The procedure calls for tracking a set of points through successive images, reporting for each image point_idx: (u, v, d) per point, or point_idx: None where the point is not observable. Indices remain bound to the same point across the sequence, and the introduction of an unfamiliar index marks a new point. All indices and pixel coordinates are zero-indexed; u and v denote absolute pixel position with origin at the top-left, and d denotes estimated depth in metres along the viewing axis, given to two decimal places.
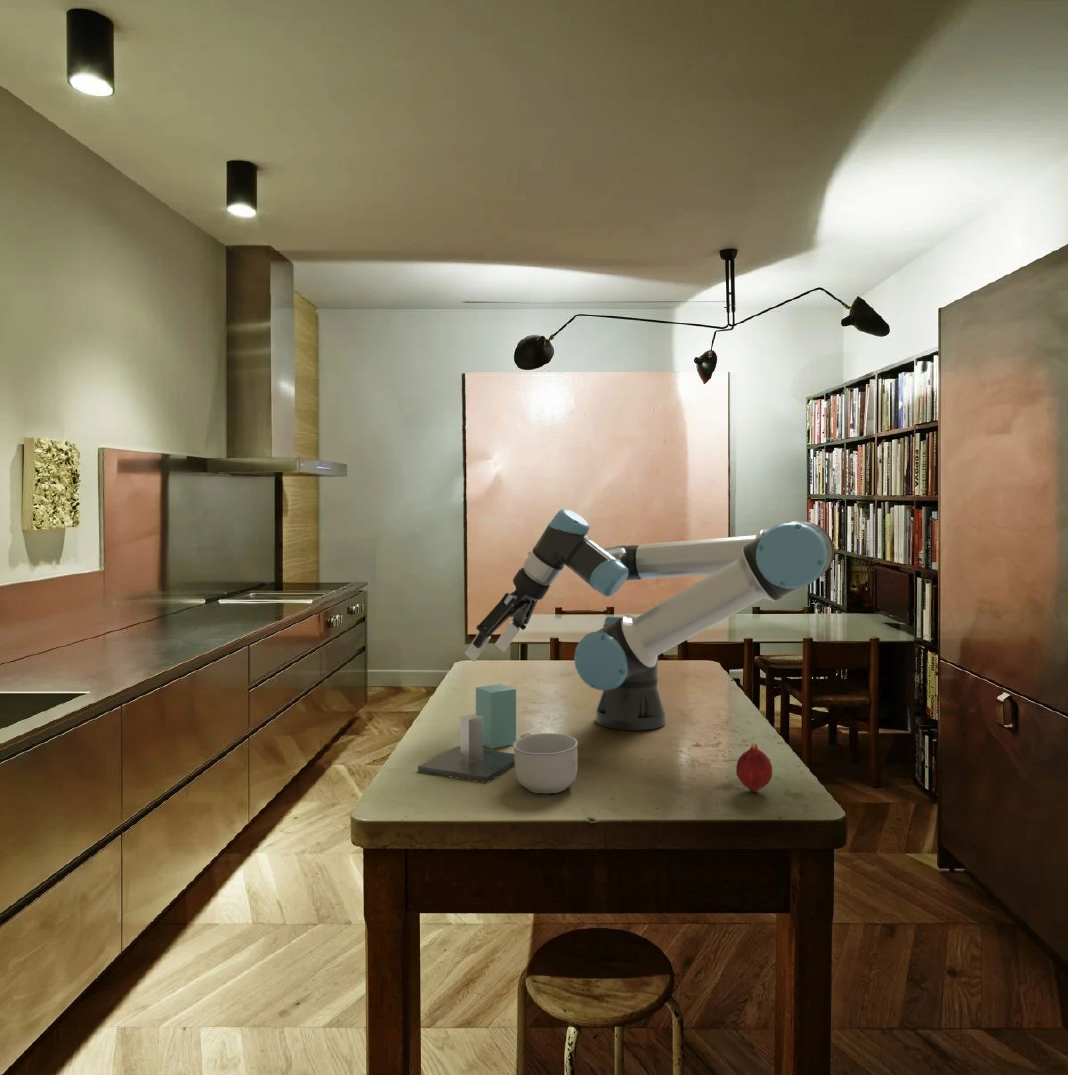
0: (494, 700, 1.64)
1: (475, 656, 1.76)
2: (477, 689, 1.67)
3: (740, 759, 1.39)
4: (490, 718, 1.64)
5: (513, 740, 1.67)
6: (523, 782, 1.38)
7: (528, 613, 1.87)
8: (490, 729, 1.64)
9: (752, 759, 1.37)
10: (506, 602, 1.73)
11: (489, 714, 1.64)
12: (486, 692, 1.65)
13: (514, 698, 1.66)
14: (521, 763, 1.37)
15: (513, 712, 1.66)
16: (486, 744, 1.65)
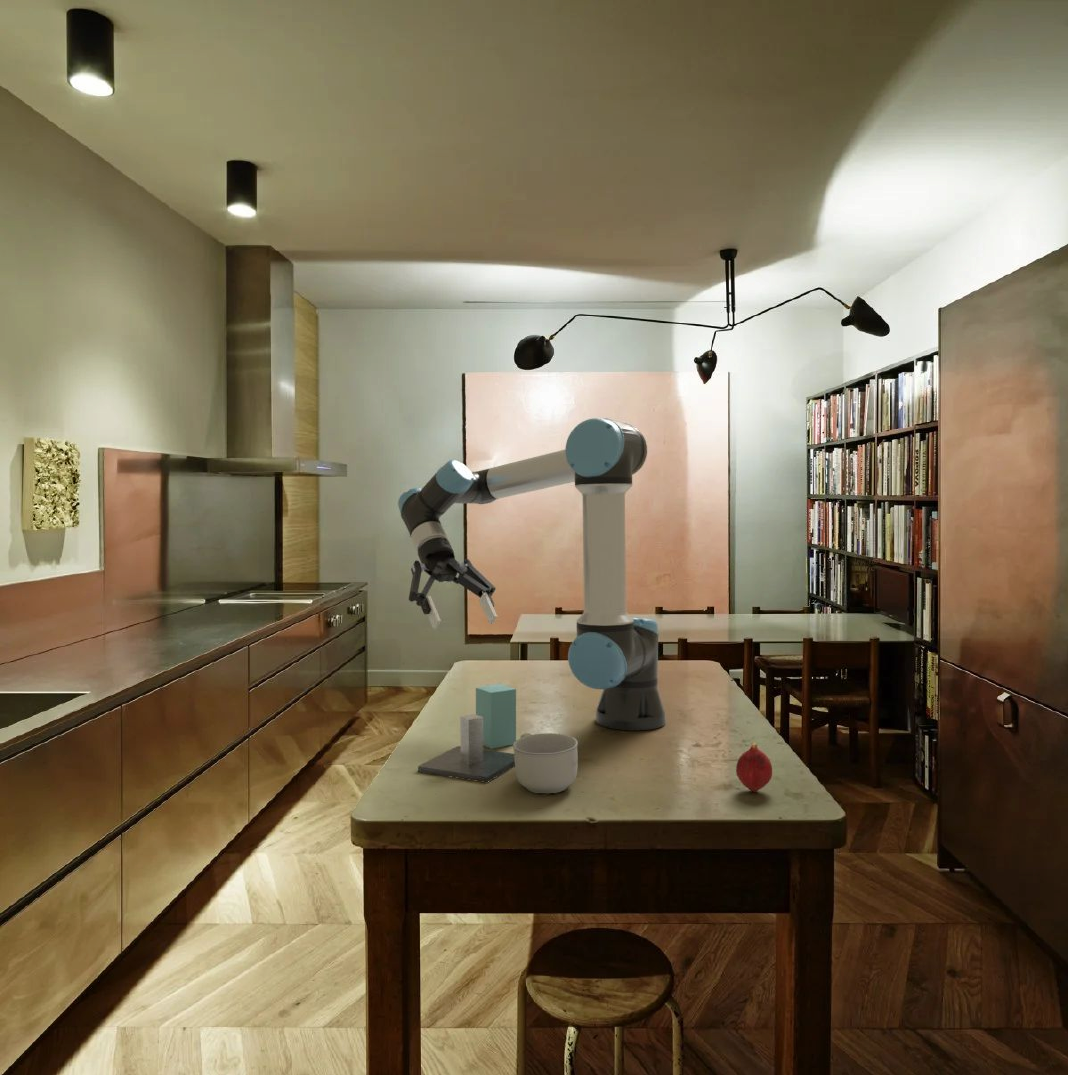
0: (494, 700, 1.64)
1: (435, 617, 1.72)
2: (477, 689, 1.67)
3: (740, 759, 1.39)
4: (490, 718, 1.64)
5: (513, 740, 1.67)
6: (523, 782, 1.38)
7: (480, 579, 1.85)
8: (490, 729, 1.64)
9: (752, 759, 1.37)
10: (414, 569, 1.80)
11: (489, 714, 1.64)
12: (486, 692, 1.65)
13: (514, 698, 1.66)
14: (521, 763, 1.37)
15: (513, 712, 1.66)
16: (486, 744, 1.65)
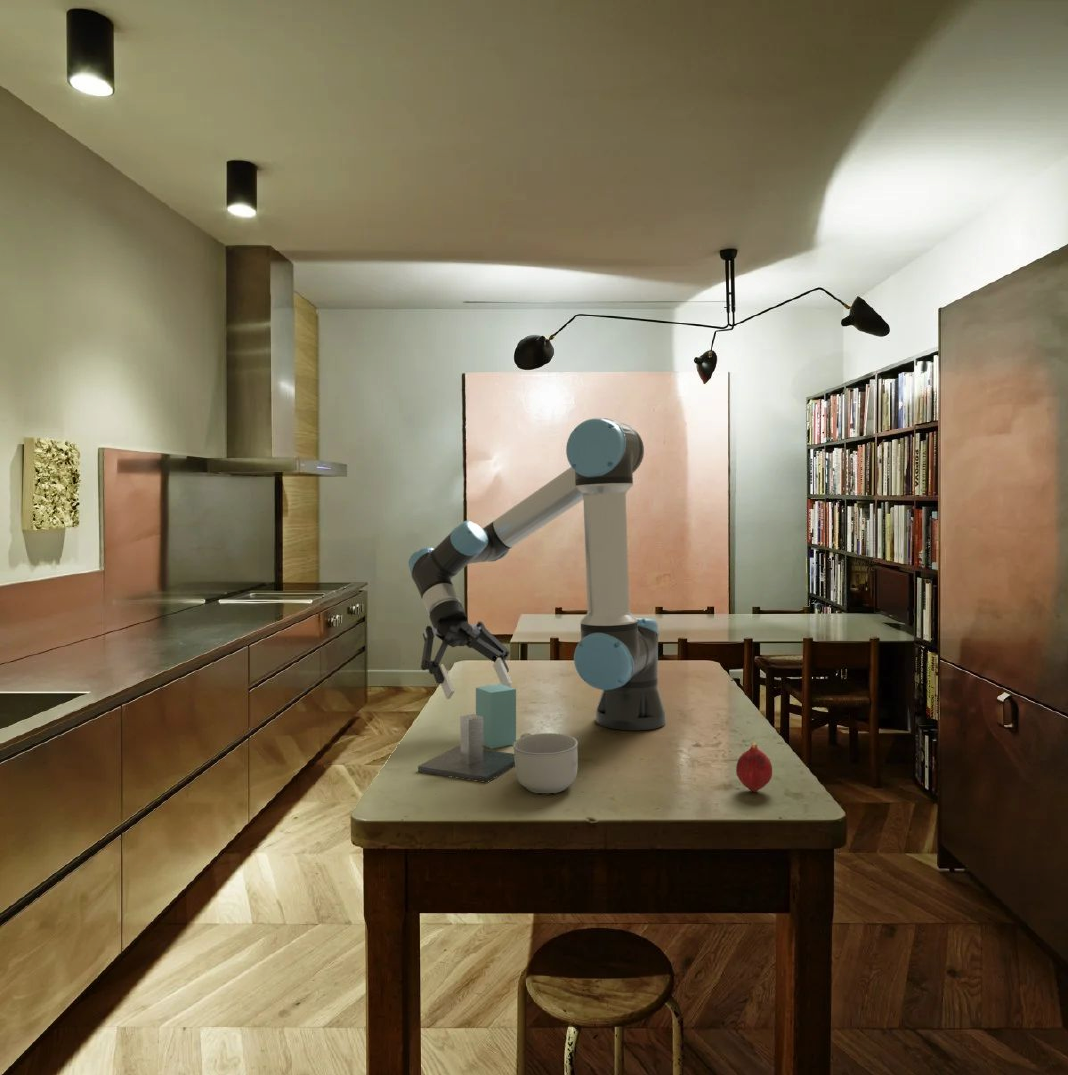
0: (494, 700, 1.64)
1: (448, 687, 1.67)
2: (477, 689, 1.67)
3: (740, 759, 1.39)
4: (490, 718, 1.64)
5: (513, 740, 1.67)
6: (523, 782, 1.38)
7: (494, 643, 1.80)
8: (490, 729, 1.64)
9: (752, 759, 1.37)
10: (425, 635, 1.75)
11: (489, 714, 1.64)
12: (486, 692, 1.65)
13: (514, 698, 1.66)
14: (521, 763, 1.37)
15: (513, 712, 1.66)
16: (486, 744, 1.65)
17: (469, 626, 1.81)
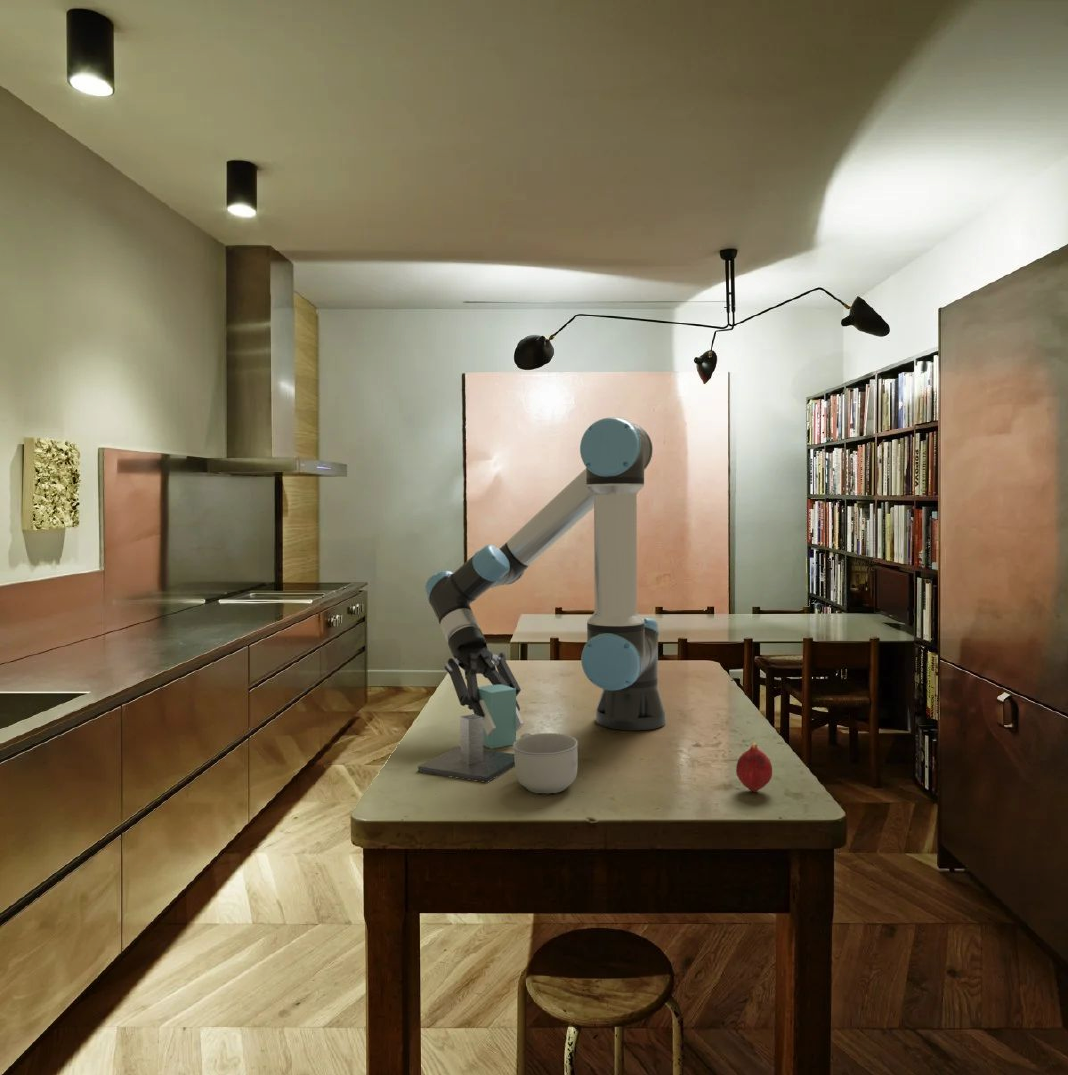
0: (494, 700, 1.64)
1: (489, 723, 1.62)
2: None
3: (740, 759, 1.39)
4: None
5: (513, 740, 1.67)
6: (523, 782, 1.38)
7: (508, 677, 1.73)
8: None
9: (752, 759, 1.37)
10: (450, 668, 1.69)
11: None
12: (486, 692, 1.65)
13: (514, 698, 1.66)
14: (521, 763, 1.37)
15: (513, 712, 1.66)
16: (486, 744, 1.65)
17: (489, 653, 1.75)
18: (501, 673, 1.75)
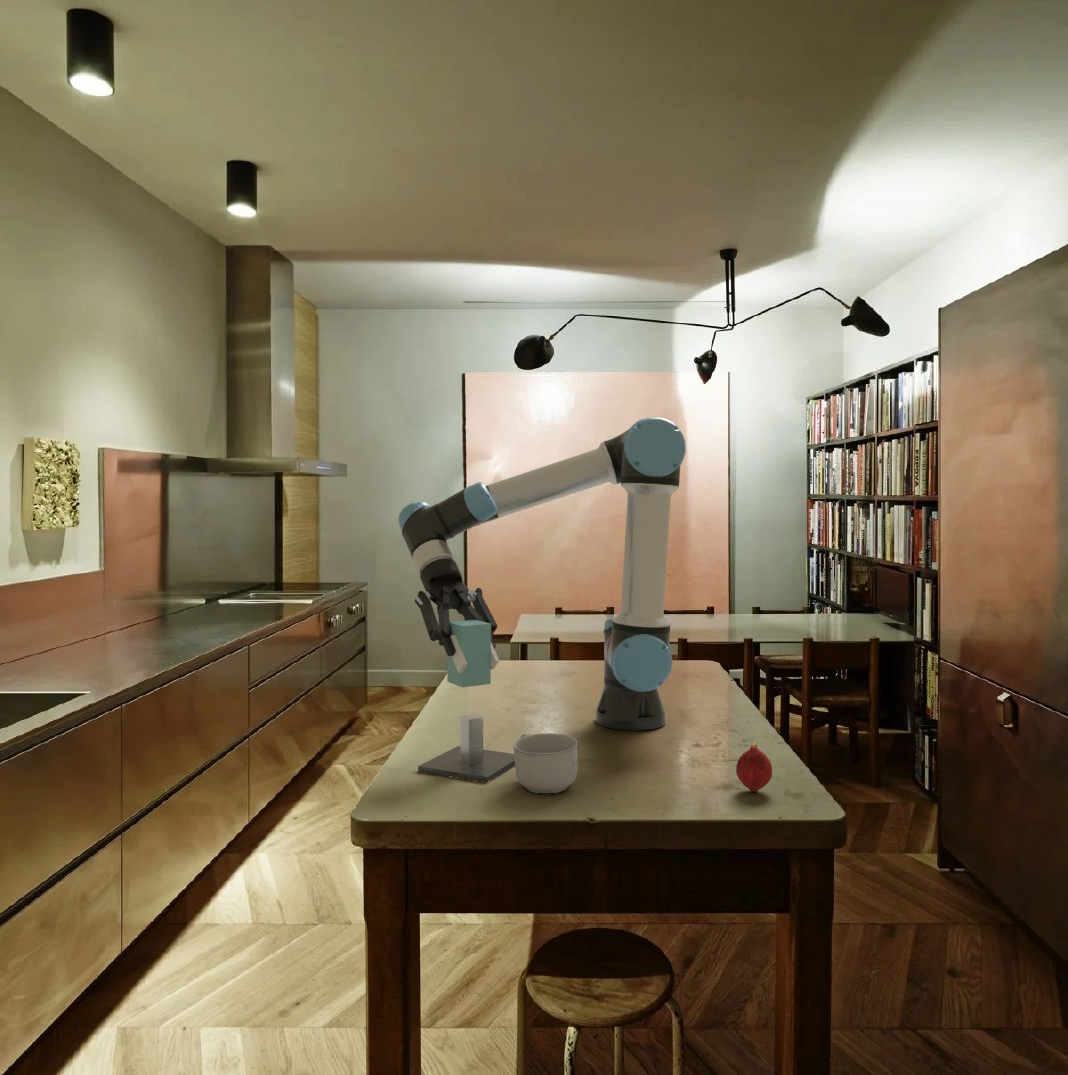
0: (466, 634, 1.50)
1: (460, 659, 1.48)
2: None
3: (740, 759, 1.39)
4: None
5: (487, 679, 1.52)
6: (523, 782, 1.38)
7: (484, 613, 1.59)
8: None
9: (752, 759, 1.37)
10: (420, 601, 1.55)
11: None
12: (458, 626, 1.51)
13: (488, 633, 1.52)
14: (521, 763, 1.37)
15: (487, 649, 1.52)
16: (457, 683, 1.51)
17: (464, 588, 1.61)
18: (477, 609, 1.61)
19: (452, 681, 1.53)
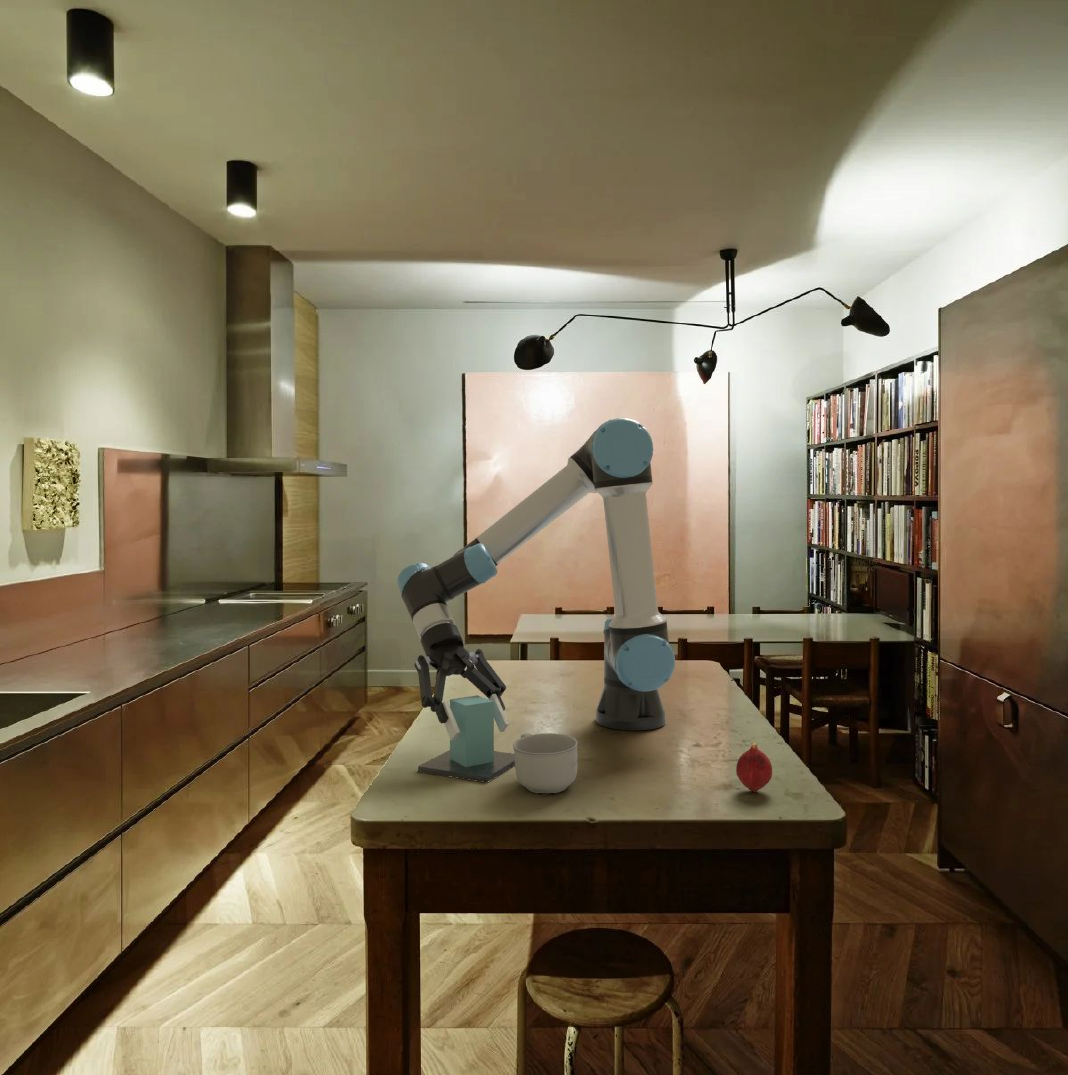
0: (469, 714, 1.49)
1: (453, 727, 1.47)
2: (451, 701, 1.53)
3: (740, 759, 1.39)
4: (465, 733, 1.49)
5: (490, 757, 1.52)
6: (523, 782, 1.38)
7: (490, 675, 1.59)
8: (465, 745, 1.49)
9: (752, 759, 1.37)
10: (419, 666, 1.55)
11: (464, 729, 1.49)
12: (461, 705, 1.50)
13: (491, 711, 1.52)
14: (521, 763, 1.37)
15: (490, 727, 1.52)
16: (461, 762, 1.50)
17: (465, 652, 1.60)
18: (481, 671, 1.61)
19: (455, 759, 1.52)
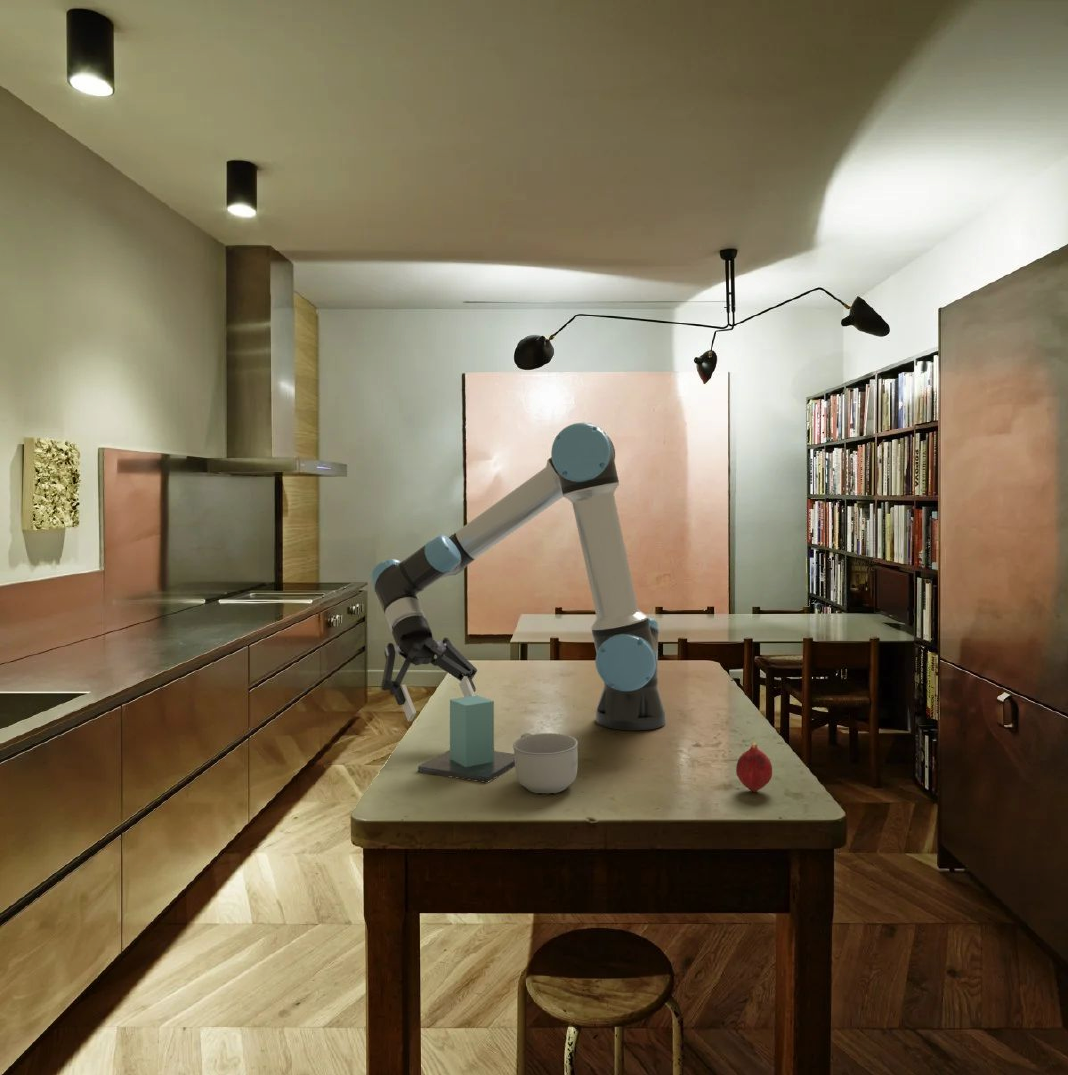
0: (469, 714, 1.49)
1: (410, 709, 1.57)
2: (451, 701, 1.53)
3: (740, 759, 1.39)
4: (465, 733, 1.49)
5: (490, 757, 1.52)
6: (523, 782, 1.38)
7: (460, 660, 1.71)
8: (465, 745, 1.49)
9: (752, 759, 1.37)
10: (387, 652, 1.65)
11: (464, 729, 1.49)
12: (461, 705, 1.50)
13: (491, 711, 1.52)
14: (521, 763, 1.37)
15: (490, 727, 1.52)
16: (461, 762, 1.50)
17: (434, 643, 1.71)
18: (451, 658, 1.72)
19: (455, 759, 1.52)
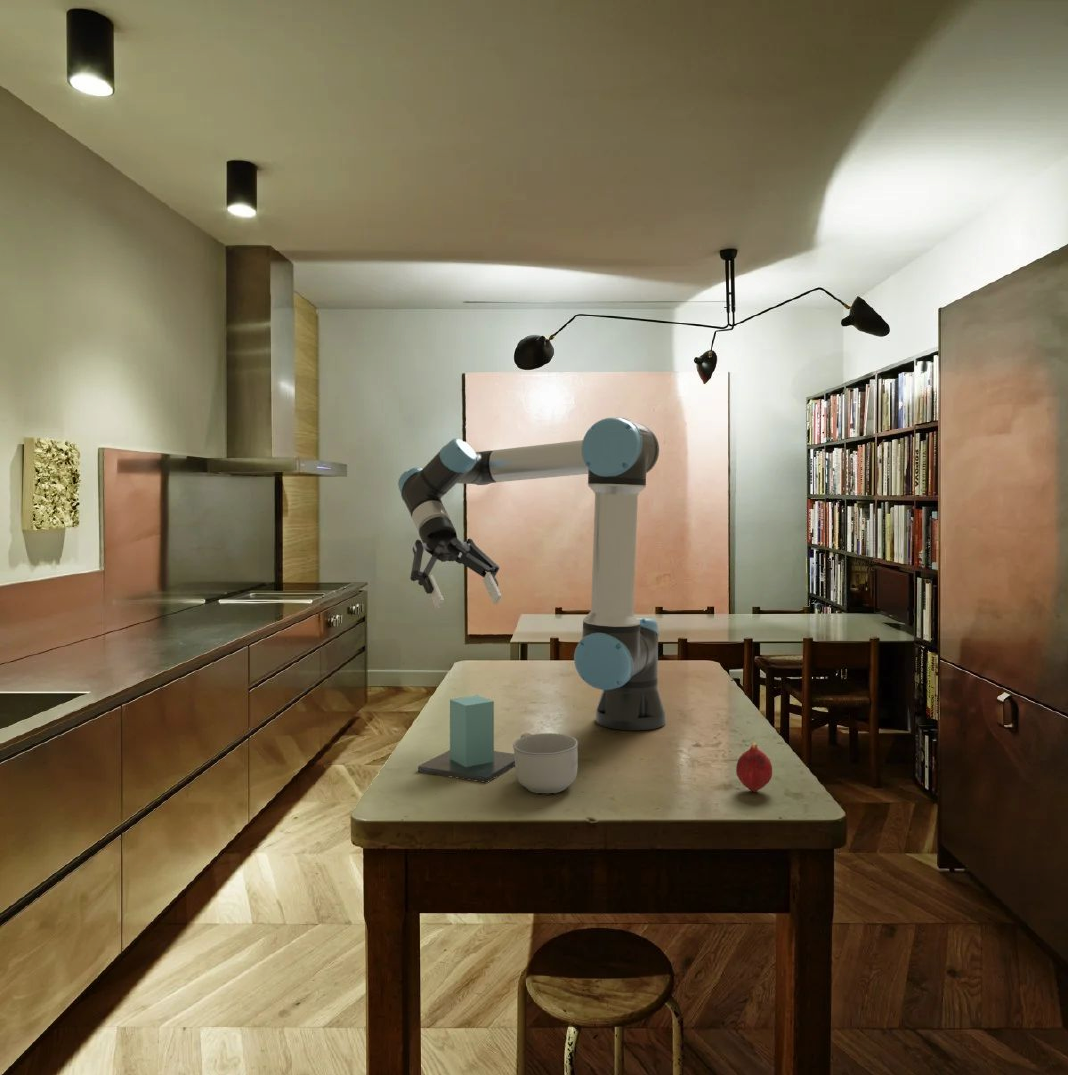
0: (469, 714, 1.49)
1: (438, 596, 1.67)
2: (451, 701, 1.53)
3: (740, 759, 1.39)
4: (465, 733, 1.49)
5: (490, 757, 1.52)
6: (523, 782, 1.38)
7: (483, 559, 1.81)
8: (465, 745, 1.49)
9: (752, 759, 1.37)
10: (415, 548, 1.76)
11: (464, 729, 1.49)
12: (461, 705, 1.50)
13: (491, 711, 1.52)
14: (521, 763, 1.37)
15: (490, 727, 1.52)
16: (461, 762, 1.50)
17: (459, 542, 1.81)
18: (475, 557, 1.82)
19: (455, 759, 1.52)
